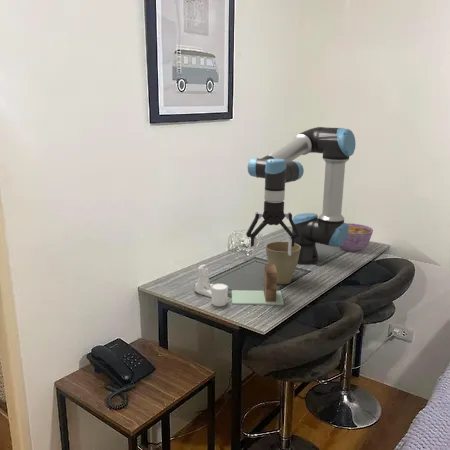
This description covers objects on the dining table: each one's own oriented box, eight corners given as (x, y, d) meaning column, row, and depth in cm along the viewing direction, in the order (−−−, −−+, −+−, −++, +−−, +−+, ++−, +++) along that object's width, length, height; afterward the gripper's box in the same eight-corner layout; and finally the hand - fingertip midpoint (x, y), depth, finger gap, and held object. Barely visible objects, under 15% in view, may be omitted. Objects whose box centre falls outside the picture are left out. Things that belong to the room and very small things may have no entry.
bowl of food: (363, 243, 253) (365, 223, 250) (376, 255, 234) (378, 233, 230) (328, 243, 252) (329, 223, 249) (338, 255, 233) (339, 233, 230)
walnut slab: (273, 292, 185) (274, 264, 182) (276, 301, 177) (277, 272, 174) (263, 292, 185) (264, 264, 182) (265, 301, 177) (266, 272, 174)
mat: (280, 292, 187) (280, 290, 187) (284, 304, 176) (284, 303, 175) (231, 291, 187) (231, 290, 187) (232, 304, 175) (232, 302, 175)
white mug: (228, 306, 173) (229, 289, 171) (210, 307, 173) (211, 290, 171) (227, 299, 180) (227, 282, 178) (210, 299, 179) (210, 283, 177)
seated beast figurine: (213, 298, 181) (213, 269, 178) (191, 296, 182) (191, 268, 179) (217, 288, 190) (217, 261, 187) (197, 287, 191) (197, 260, 188)
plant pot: (291, 273, 207) (293, 240, 203) (303, 286, 193) (306, 250, 189) (260, 275, 204) (261, 242, 200) (270, 289, 190) (271, 252, 186)
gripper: (305, 198, 174) (302, 251, 180) (240, 198, 174) (239, 250, 180) (309, 203, 167) (305, 257, 173) (241, 202, 167) (240, 257, 173)
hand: (271, 254), depth 176 cm, fingers open, 13 cm apart
